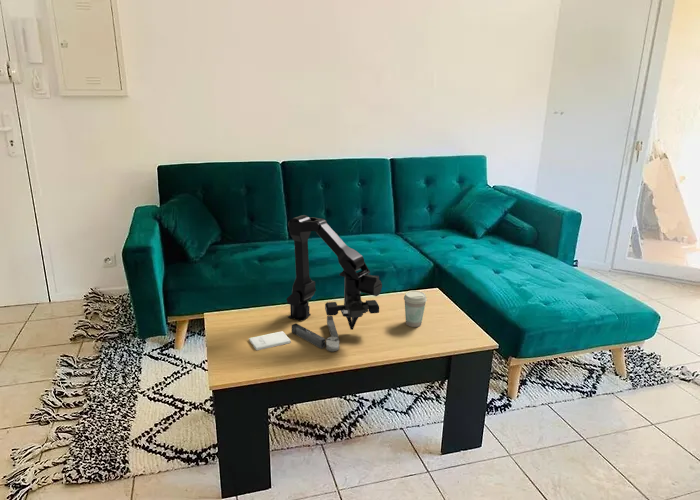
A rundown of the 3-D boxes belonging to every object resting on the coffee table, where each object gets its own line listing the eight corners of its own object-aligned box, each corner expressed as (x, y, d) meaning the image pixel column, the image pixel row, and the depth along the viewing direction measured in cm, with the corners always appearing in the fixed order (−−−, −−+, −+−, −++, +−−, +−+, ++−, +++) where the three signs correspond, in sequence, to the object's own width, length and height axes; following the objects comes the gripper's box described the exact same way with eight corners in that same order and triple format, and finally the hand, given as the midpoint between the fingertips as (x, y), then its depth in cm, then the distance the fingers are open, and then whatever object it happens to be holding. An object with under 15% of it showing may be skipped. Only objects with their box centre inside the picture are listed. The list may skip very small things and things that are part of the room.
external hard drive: (290, 344, 183) (256, 351, 178) (282, 334, 190) (248, 341, 185) (290, 340, 183) (256, 347, 177) (282, 330, 190) (248, 337, 184)
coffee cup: (399, 326, 198) (401, 296, 194) (405, 317, 205) (407, 288, 201) (421, 330, 195) (423, 300, 191) (427, 321, 202) (429, 292, 198)
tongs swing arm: (340, 351, 178) (341, 342, 177) (326, 351, 177) (327, 343, 176) (332, 323, 197) (332, 315, 196) (319, 323, 197) (319, 316, 196)
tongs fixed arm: (325, 346, 181) (325, 338, 180) (321, 348, 180) (321, 340, 179) (295, 330, 192) (295, 322, 191) (291, 332, 191) (291, 324, 190)
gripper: (329, 299, 177) (328, 341, 182) (383, 297, 180) (381, 338, 185) (325, 287, 187) (324, 326, 192) (376, 284, 190) (375, 324, 195)
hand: (351, 329), depth 191 cm, fingers closed
